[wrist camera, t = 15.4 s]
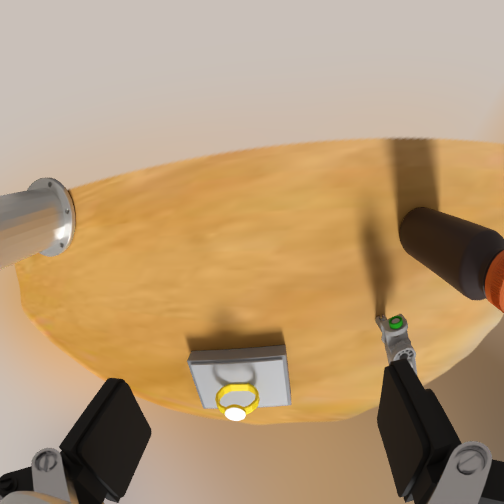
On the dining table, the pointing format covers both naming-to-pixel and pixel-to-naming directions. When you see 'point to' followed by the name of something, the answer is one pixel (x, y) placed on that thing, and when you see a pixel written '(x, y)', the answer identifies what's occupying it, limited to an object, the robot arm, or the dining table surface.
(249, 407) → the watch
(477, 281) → the bottle
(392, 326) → the mechanical component
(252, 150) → the dining table surface
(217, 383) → the stand
